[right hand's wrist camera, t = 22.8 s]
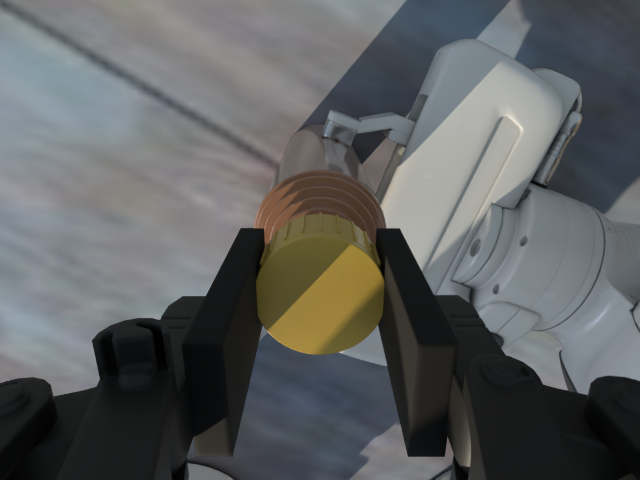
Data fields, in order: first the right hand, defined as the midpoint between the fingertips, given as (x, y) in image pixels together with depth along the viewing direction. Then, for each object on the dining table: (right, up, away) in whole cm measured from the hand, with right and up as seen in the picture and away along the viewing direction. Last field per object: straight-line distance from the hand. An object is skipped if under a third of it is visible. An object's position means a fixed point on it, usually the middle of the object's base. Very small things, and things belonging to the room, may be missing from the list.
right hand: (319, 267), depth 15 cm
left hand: (-1, +5, +12) cm, 13 cm away
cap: (0, -1, -2) cm, 2 cm away
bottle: (0, +7, +18) cm, 20 cm away
